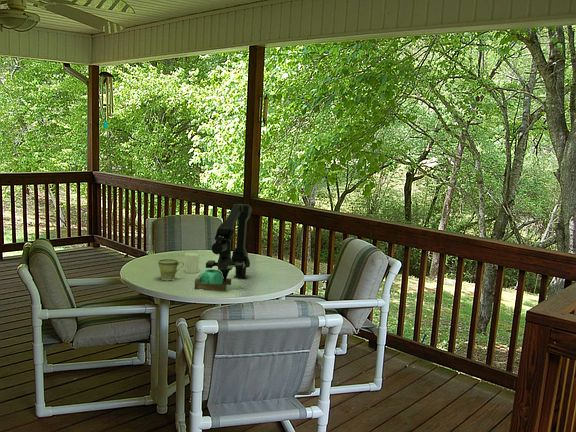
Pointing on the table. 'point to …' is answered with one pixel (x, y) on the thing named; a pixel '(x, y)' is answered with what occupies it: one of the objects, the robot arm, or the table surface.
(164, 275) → the ceramic cup
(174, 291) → the table surface
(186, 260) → the white cup
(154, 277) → the table surface
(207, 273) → the decorative dice
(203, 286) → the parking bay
